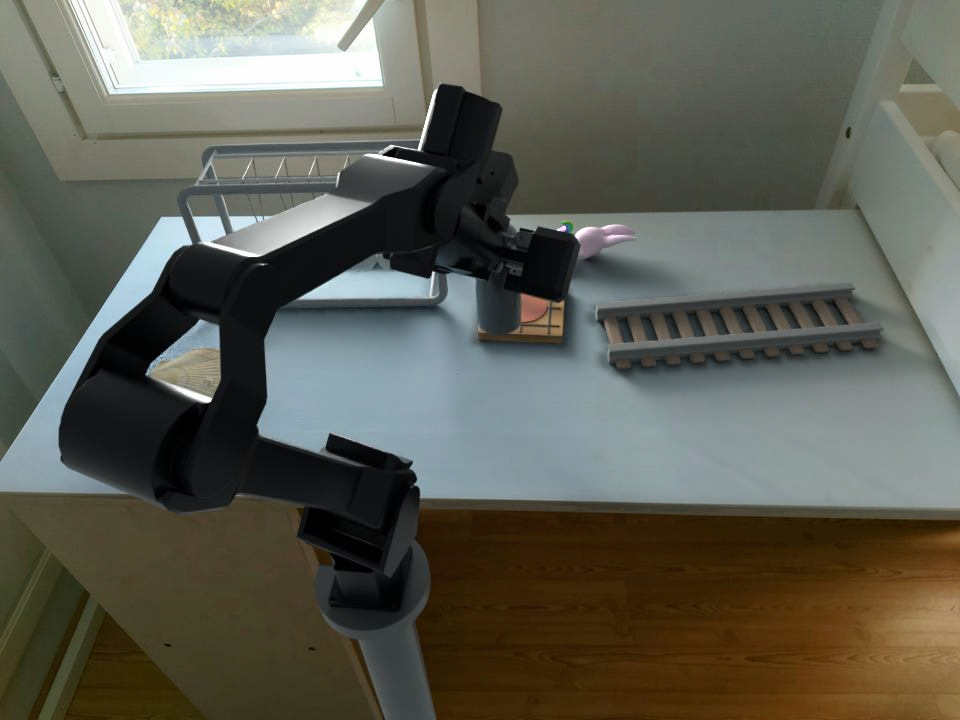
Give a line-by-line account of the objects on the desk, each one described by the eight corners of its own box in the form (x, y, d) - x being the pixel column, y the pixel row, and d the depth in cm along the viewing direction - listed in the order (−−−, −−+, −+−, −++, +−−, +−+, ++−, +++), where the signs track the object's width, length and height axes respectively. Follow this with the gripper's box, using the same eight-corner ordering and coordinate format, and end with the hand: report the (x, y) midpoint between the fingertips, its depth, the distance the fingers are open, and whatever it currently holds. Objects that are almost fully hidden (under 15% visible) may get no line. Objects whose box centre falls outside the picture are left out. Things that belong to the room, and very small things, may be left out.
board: (562, 343, 89) (562, 335, 88) (478, 339, 90) (477, 331, 89) (564, 290, 96) (565, 282, 95) (487, 287, 97) (486, 279, 96)
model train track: (883, 349, 86) (889, 336, 84) (611, 372, 85) (612, 359, 83) (841, 288, 94) (846, 275, 92) (593, 308, 93) (594, 295, 92)
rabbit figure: (527, 279, 100) (641, 260, 98) (519, 243, 96) (638, 222, 94) (525, 251, 105) (633, 232, 102) (517, 216, 100) (630, 195, 98)
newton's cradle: (215, 310, 96) (169, 189, 84) (237, 261, 104) (198, 143, 91) (448, 307, 94) (437, 182, 82) (453, 258, 102) (443, 137, 90)
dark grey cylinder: (530, 322, 81) (531, 224, 73) (496, 341, 79) (492, 243, 71) (502, 301, 84) (499, 205, 76) (468, 319, 82) (461, 222, 74)
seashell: (259, 415, 83) (252, 397, 81) (150, 454, 79) (140, 436, 77) (235, 352, 90) (229, 334, 88) (135, 385, 87) (125, 367, 85)
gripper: (579, 157, 60) (610, 206, 75) (378, 121, 66) (443, 173, 81) (541, 291, 60) (580, 314, 75) (345, 243, 67) (416, 273, 81)
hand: (503, 264), depth 78 cm, fingers closed on dark grey cylinder, 5 cm apart
